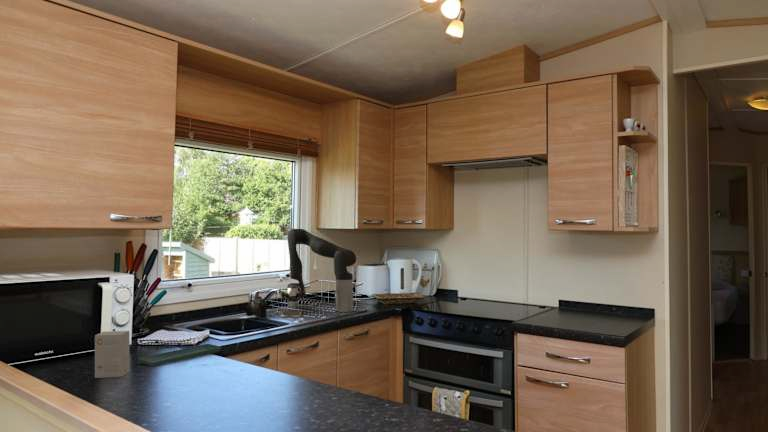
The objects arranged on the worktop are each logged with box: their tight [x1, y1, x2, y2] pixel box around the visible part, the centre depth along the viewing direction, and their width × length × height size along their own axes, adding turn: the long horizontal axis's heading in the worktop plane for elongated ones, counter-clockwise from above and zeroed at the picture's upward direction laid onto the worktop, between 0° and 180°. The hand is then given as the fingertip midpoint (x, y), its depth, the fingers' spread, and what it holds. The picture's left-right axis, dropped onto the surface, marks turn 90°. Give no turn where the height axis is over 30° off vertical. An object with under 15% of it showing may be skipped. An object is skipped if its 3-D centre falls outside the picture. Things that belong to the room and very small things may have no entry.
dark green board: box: [138, 343, 222, 367], centre depth 183 cm, size 26×9×2 cm, turn 141°
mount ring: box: [281, 309, 301, 316], centre depth 270 cm, size 9×9×2 cm
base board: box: [280, 311, 302, 319], centre depth 270 cm, size 10×10×1 cm
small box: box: [94, 330, 131, 379], centre depth 161 cm, size 8×6×13 cm
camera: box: [245, 295, 268, 320], centre depth 266 cm, size 18×9×10 cm, turn 26°
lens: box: [287, 287, 299, 308], centre depth 281 cm, size 6×6×10 cm
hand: (292, 295), depth 278 cm, fingers closed on lens, 5 cm apart
